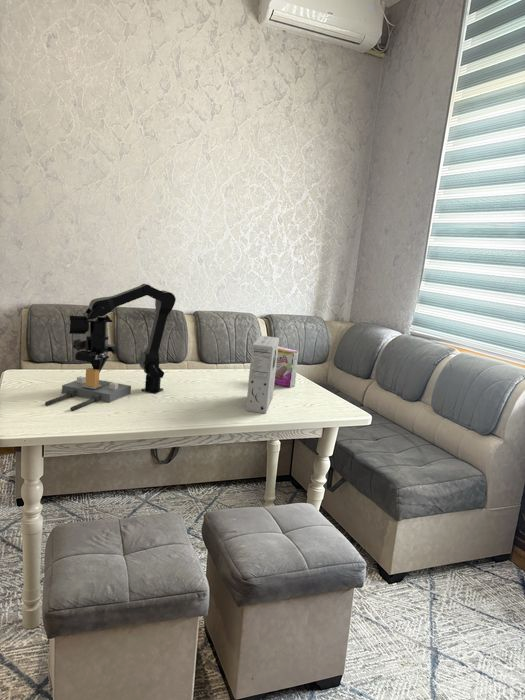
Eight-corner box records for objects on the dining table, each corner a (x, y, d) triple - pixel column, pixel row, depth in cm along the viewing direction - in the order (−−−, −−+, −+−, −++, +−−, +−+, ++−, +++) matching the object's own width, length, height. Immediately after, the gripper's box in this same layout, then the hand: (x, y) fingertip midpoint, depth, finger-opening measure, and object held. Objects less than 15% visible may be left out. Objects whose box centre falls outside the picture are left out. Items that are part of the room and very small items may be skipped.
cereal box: (254, 395, 207) (260, 335, 203) (272, 397, 206) (279, 337, 202) (245, 410, 186) (252, 344, 181) (266, 413, 185) (273, 346, 181)
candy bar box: (268, 382, 229) (272, 347, 226) (274, 381, 233) (277, 346, 230) (289, 388, 224) (293, 351, 220) (295, 386, 228) (299, 350, 225)
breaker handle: (90, 383, 189) (90, 367, 188) (102, 386, 188) (102, 369, 186) (81, 386, 184) (82, 369, 183) (93, 389, 183) (94, 371, 182)
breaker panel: (85, 384, 199) (85, 372, 198) (130, 393, 194) (131, 380, 193) (58, 394, 184) (58, 381, 183) (106, 404, 178) (107, 390, 177)
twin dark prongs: (73, 394, 185) (73, 391, 185) (100, 400, 182) (100, 396, 182) (43, 405, 171) (44, 401, 170) (72, 411, 168) (73, 407, 167)
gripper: (94, 327, 195) (93, 366, 199) (62, 334, 178) (61, 377, 181) (119, 331, 192) (118, 371, 196) (89, 338, 175) (88, 382, 178)
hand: (96, 375), depth 188 cm, fingers closed
